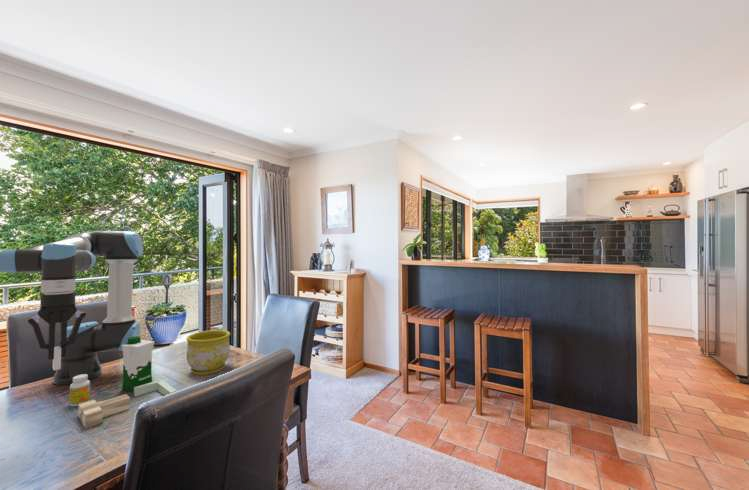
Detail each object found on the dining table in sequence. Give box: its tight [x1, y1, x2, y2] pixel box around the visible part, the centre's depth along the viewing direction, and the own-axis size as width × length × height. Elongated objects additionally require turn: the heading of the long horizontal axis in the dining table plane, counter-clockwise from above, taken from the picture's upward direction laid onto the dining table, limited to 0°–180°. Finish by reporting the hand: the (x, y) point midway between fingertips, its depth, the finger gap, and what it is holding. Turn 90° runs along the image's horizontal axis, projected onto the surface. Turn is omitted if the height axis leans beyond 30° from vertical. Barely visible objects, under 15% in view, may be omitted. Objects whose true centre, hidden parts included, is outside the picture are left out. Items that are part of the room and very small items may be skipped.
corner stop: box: [133, 379, 177, 397], centre depth 116 cm, size 16×9×3 cm, turn 53°
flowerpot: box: [186, 329, 231, 376], centre depth 142 cm, size 18×18×16 cm
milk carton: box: [121, 335, 155, 392], centre depth 124 cm, size 9×9×20 cm
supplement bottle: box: [68, 374, 91, 407], centre depth 111 cm, size 5×5×10 cm
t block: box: [77, 393, 131, 429], centre depth 103 cm, size 12×12×4 cm
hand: (56, 368), depth 94 cm, fingers closed
